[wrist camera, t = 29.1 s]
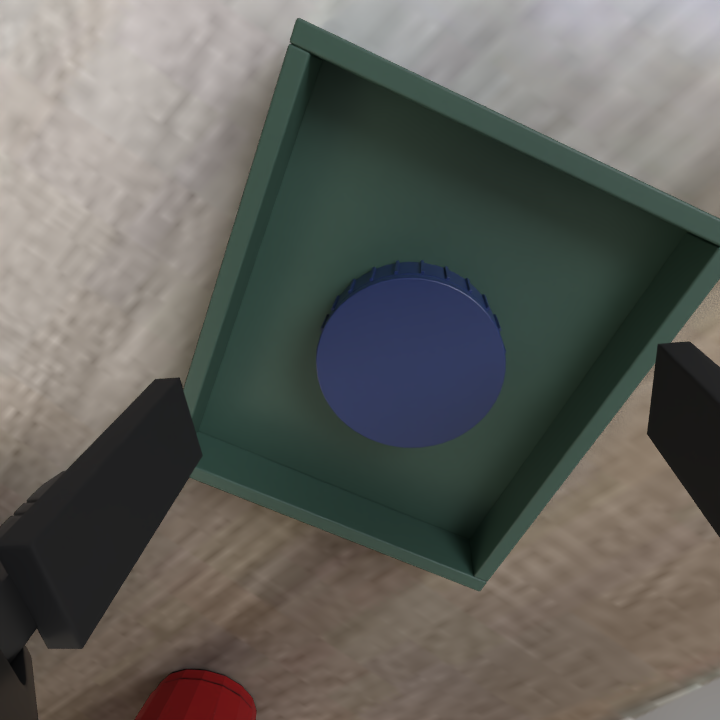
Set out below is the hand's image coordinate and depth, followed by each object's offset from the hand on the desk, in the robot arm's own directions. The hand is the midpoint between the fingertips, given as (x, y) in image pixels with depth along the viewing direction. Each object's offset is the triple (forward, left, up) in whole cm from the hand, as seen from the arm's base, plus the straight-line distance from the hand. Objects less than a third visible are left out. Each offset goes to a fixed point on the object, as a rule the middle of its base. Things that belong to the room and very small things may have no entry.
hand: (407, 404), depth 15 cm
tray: (0, 0, -5) cm, 5 cm away
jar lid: (0, 0, -3) cm, 3 cm away
